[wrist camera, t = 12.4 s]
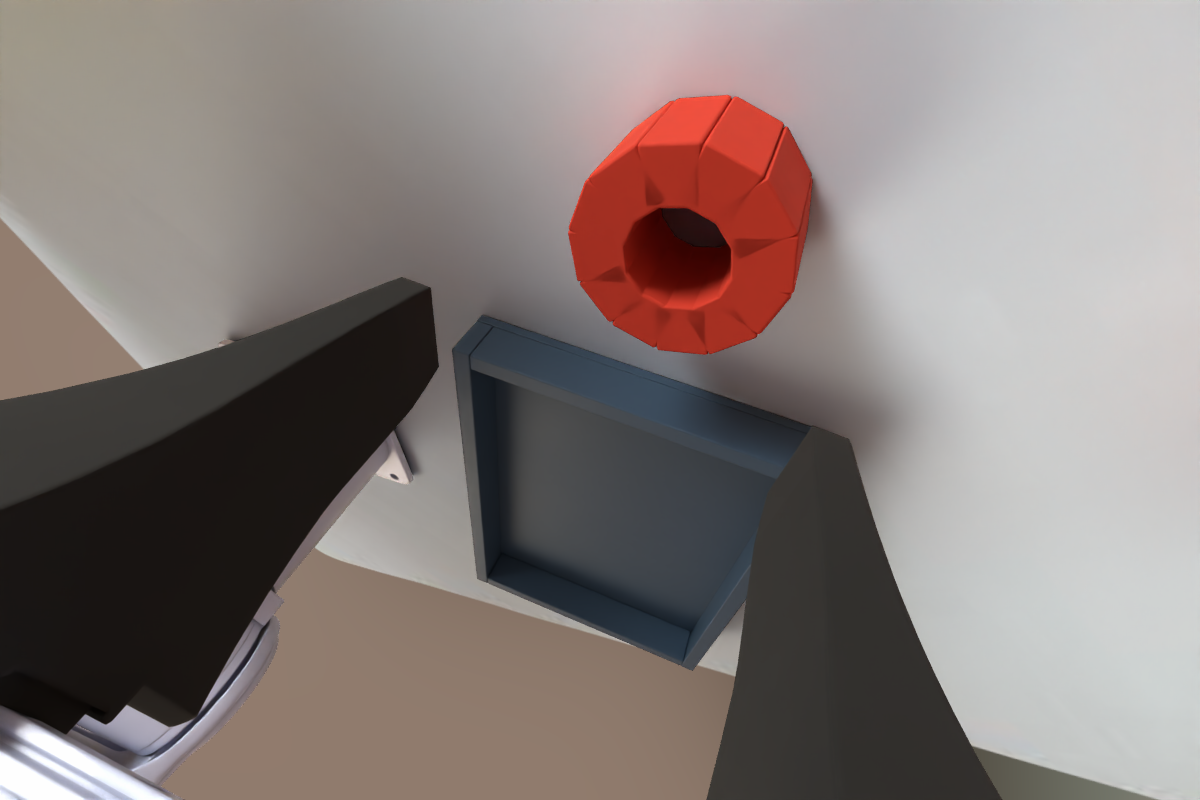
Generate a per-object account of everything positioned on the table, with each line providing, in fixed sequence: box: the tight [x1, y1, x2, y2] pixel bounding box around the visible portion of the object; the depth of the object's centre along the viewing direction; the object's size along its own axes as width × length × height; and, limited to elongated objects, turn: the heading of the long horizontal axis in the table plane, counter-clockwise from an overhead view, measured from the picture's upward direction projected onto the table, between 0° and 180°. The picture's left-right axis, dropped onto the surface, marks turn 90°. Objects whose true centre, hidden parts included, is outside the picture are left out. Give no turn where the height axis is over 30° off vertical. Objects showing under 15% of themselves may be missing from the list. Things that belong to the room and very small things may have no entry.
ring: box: [568, 95, 813, 355], centre depth 14 cm, size 5×5×3 cm
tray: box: [452, 315, 811, 671], centre depth 26 cm, size 13×18×2 cm
